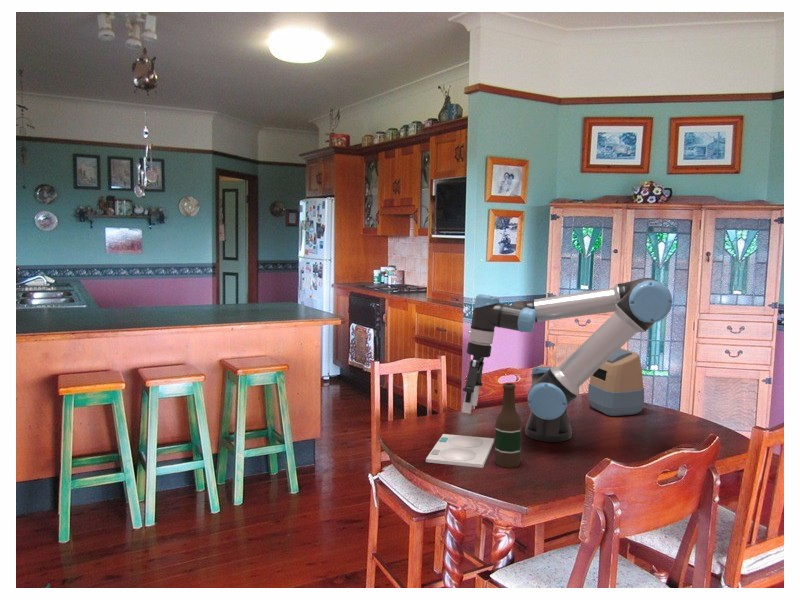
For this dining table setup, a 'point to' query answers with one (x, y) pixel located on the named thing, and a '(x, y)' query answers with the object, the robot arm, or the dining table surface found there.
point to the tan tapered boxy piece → (618, 385)
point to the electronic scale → (461, 450)
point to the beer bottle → (508, 431)
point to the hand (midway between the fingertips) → (469, 408)
